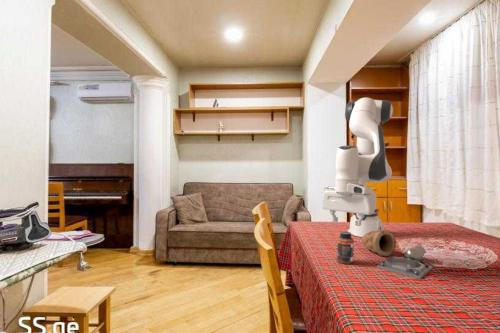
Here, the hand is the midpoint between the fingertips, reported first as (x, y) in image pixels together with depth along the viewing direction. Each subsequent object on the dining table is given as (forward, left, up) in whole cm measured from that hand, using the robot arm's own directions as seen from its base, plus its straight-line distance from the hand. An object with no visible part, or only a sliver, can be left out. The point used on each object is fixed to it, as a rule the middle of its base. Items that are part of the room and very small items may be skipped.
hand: (346, 223), depth 111 cm
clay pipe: (-25, +2, -15) cm, 29 cm away
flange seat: (-15, +18, -15) cm, 28 cm away
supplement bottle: (0, 0, -15) cm, 15 cm away
